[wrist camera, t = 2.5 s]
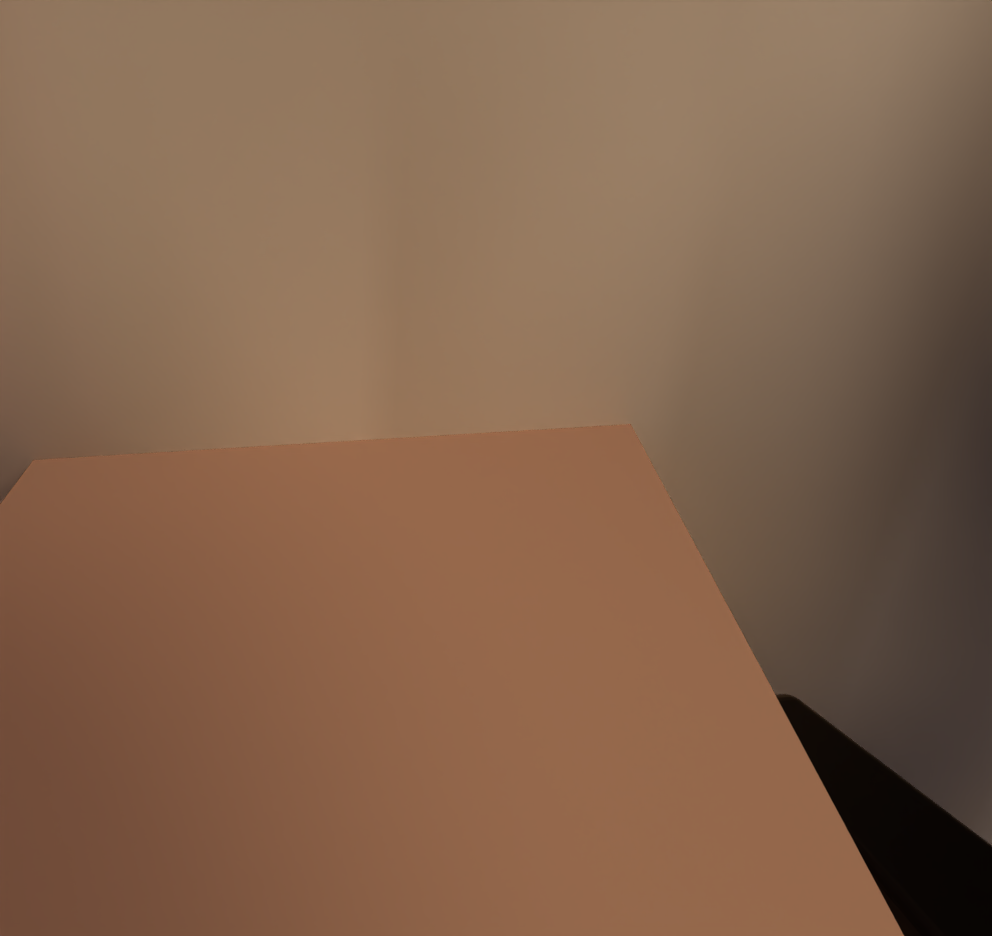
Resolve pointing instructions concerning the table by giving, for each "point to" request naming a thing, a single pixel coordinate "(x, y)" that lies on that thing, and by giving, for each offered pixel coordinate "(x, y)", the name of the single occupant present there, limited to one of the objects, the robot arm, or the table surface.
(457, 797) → the terracotta cube
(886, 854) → the robot arm
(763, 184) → the table surface
